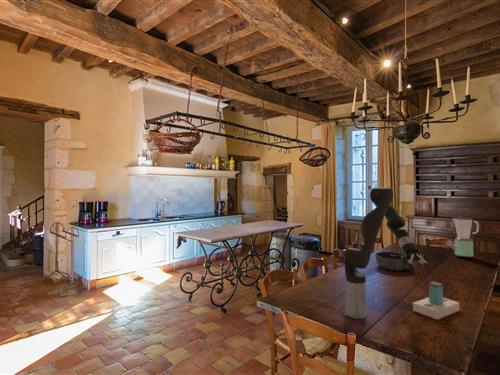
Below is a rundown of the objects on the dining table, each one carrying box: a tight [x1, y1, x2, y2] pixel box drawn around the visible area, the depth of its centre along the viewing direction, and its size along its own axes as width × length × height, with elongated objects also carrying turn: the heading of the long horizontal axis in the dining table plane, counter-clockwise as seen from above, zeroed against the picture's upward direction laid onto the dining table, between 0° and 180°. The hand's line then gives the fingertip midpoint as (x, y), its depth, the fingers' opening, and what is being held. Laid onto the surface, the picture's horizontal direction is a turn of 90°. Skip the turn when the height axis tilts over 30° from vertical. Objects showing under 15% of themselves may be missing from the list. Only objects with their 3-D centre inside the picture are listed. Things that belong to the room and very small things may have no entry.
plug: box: [428, 281, 444, 305], centre depth 151 cm, size 4×4×14 cm
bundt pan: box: [374, 251, 410, 272], centre depth 229 cm, size 26×26×10 cm
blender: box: [451, 216, 480, 260], centre depth 257 cm, size 19×13×35 cm
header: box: [412, 296, 460, 320], centre depth 151 cm, size 20×12×4 cm, turn 119°
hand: (421, 270), depth 162 cm, fingers open, 8 cm apart
